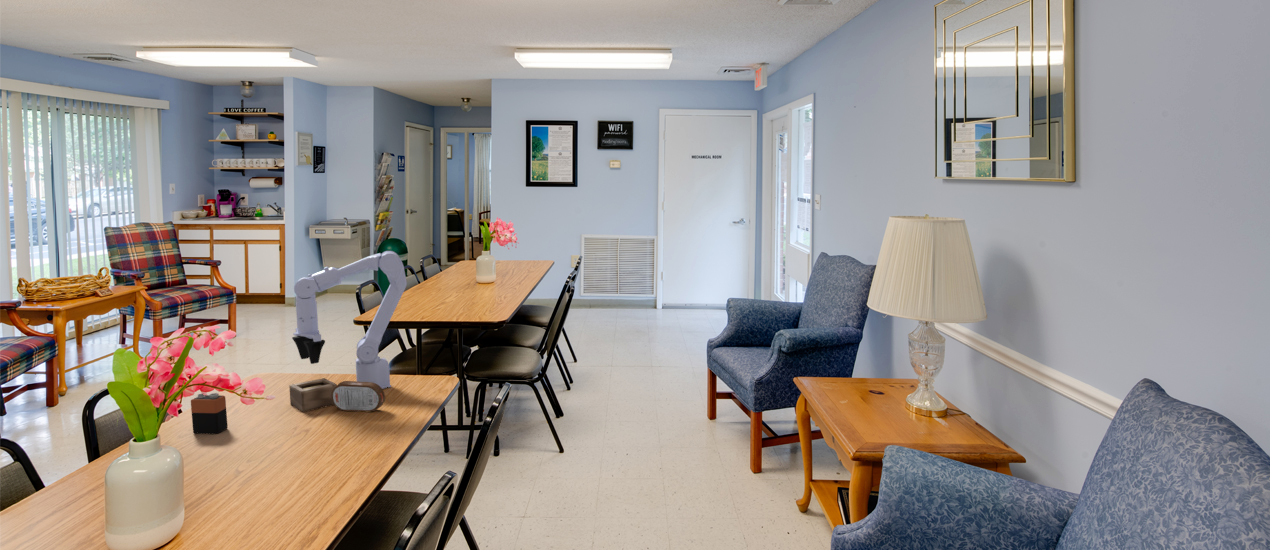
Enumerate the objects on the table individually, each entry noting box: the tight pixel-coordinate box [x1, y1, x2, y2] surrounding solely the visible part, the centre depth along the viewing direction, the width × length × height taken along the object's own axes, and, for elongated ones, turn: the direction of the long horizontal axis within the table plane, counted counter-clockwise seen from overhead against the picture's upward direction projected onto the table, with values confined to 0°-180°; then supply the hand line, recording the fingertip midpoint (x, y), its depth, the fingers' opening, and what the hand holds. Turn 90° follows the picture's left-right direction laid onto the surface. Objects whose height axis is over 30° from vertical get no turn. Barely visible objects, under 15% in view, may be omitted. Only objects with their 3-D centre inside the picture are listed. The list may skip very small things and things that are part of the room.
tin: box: [331, 380, 386, 412], centre depth 195 cm, size 15×3×8 cm, turn 84°
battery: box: [190, 392, 228, 435], centre depth 178 cm, size 4×7×10 cm, turn 88°
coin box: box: [288, 377, 338, 413], centre depth 200 cm, size 10×9×6 cm
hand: (309, 360), depth 209 cm, fingers open, 7 cm apart
